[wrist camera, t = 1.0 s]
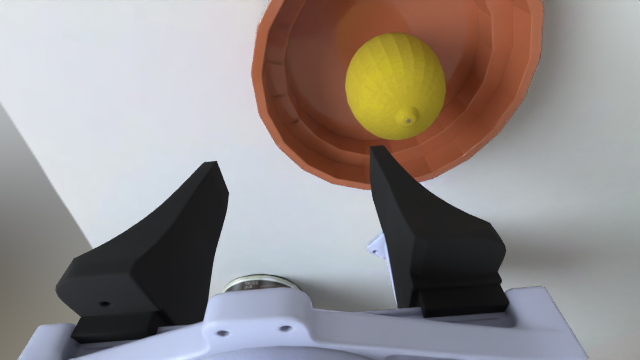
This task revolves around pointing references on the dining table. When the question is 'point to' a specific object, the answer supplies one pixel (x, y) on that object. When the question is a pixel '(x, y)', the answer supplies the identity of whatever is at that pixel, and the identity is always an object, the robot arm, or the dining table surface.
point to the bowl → (352, 33)
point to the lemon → (395, 86)
